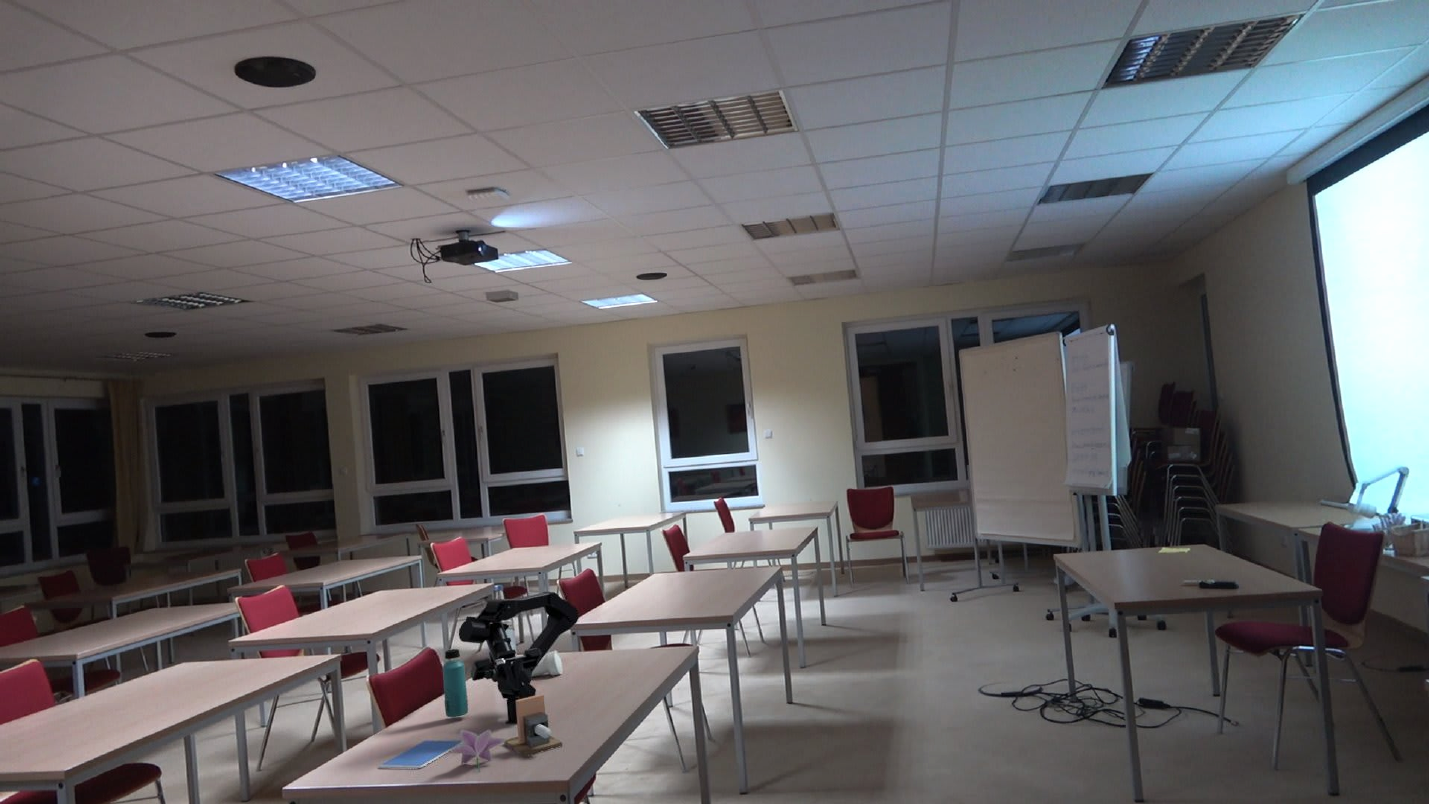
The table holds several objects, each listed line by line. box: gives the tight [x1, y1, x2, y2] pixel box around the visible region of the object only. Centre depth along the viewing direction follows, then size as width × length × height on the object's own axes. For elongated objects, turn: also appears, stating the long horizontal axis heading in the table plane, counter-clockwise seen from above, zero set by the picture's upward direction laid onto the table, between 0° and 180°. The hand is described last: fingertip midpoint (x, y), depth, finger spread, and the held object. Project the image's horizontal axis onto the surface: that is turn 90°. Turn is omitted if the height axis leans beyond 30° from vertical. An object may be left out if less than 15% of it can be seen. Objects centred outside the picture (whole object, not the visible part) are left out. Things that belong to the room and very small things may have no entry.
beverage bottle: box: [441, 648, 469, 718], centre depth 255 cm, size 6×7×20 cm
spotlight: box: [532, 649, 563, 678], centre depth 298 cm, size 8×11×8 cm
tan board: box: [503, 735, 563, 758], centre depth 224 cm, size 14×10×1 cm
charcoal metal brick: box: [523, 712, 550, 748], centre depth 221 cm, size 4×5×7 cm
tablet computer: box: [378, 740, 463, 770], centre depth 224 cm, size 19×13×1 cm, turn 163°
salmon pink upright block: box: [516, 693, 552, 744], centre depth 220 cm, size 10×7×10 cm
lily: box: [449, 729, 507, 772], centre depth 211 cm, size 12×12×10 cm
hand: (516, 689), depth 232 cm, fingers closed
